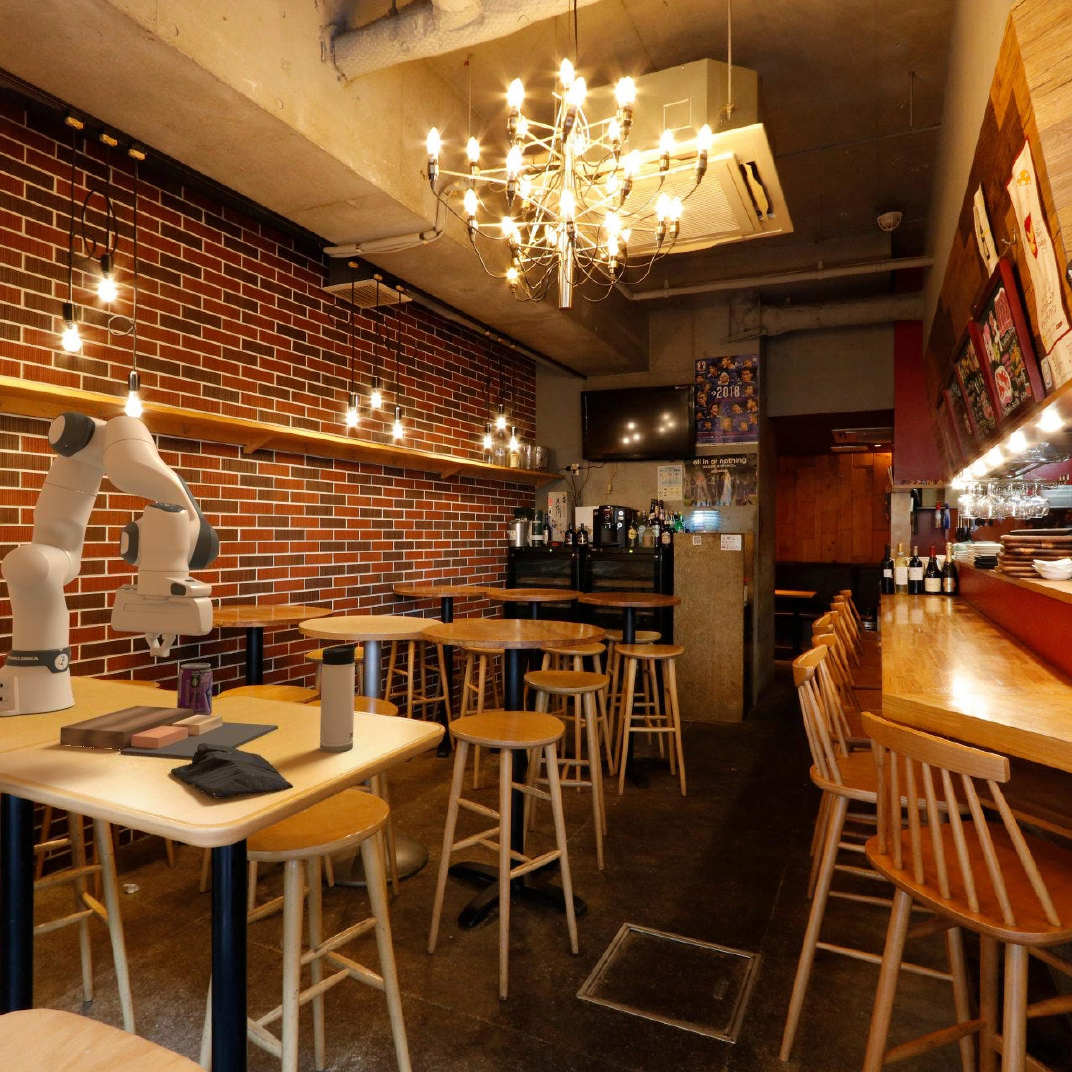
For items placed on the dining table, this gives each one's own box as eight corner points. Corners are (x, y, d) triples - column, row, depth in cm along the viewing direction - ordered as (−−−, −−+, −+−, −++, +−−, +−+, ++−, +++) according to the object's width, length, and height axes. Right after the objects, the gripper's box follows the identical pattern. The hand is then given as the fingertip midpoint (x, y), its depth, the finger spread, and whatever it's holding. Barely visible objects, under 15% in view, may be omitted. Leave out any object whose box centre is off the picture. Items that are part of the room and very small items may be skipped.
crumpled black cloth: (197, 811, 105) (198, 779, 105) (167, 773, 122) (168, 746, 122) (299, 791, 114) (300, 761, 114) (258, 758, 132) (259, 733, 132)
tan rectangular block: (172, 733, 144) (172, 723, 144) (196, 724, 152) (196, 714, 152) (199, 735, 143) (199, 725, 143) (222, 725, 151) (222, 716, 151)
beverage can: (201, 722, 156) (203, 668, 156) (170, 721, 156) (172, 667, 157) (217, 714, 163) (218, 662, 163) (186, 714, 163) (188, 662, 164)
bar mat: (120, 753, 131) (120, 750, 131) (202, 723, 155) (202, 720, 155) (207, 760, 128) (207, 757, 128) (278, 728, 152) (278, 725, 152)
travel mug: (360, 748, 138) (362, 646, 138) (329, 754, 133) (332, 648, 134) (344, 741, 142) (346, 642, 143) (314, 747, 138) (316, 645, 138)
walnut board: (60, 745, 136) (60, 727, 136) (135, 721, 156) (136, 705, 156) (123, 750, 133) (124, 732, 134) (192, 725, 153) (193, 709, 153)
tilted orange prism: (131, 746, 134) (131, 735, 134) (162, 735, 142) (162, 725, 142) (158, 748, 133) (158, 737, 133) (187, 737, 141) (188, 727, 141)
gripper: (104, 583, 137) (100, 655, 136) (198, 588, 133) (194, 661, 133) (129, 582, 143) (125, 651, 143) (219, 587, 139) (215, 657, 139)
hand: (159, 656), depth 138 cm, fingers closed
